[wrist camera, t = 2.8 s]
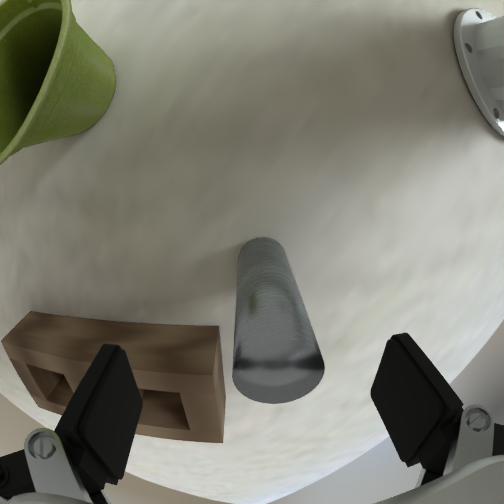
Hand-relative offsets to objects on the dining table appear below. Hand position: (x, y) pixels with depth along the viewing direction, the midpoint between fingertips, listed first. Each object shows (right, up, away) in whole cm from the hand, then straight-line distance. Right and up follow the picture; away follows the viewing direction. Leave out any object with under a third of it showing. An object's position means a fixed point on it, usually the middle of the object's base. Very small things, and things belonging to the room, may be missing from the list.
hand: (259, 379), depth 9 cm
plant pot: (-12, +15, +5) cm, 20 cm away
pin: (0, +4, +9) cm, 10 cm away
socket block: (-12, -5, +12) cm, 17 cm away
